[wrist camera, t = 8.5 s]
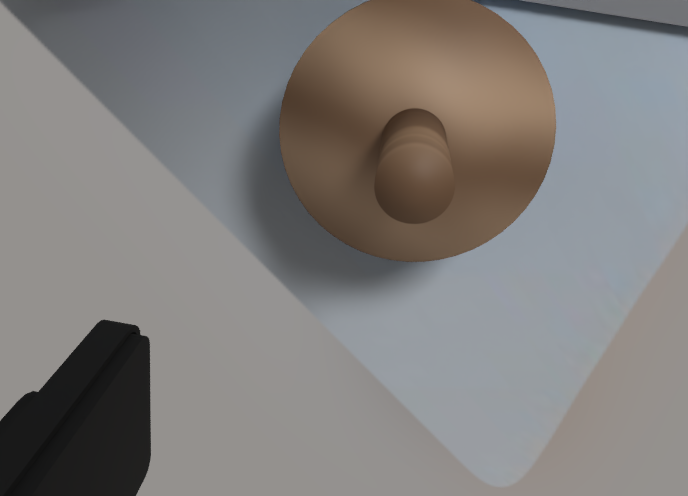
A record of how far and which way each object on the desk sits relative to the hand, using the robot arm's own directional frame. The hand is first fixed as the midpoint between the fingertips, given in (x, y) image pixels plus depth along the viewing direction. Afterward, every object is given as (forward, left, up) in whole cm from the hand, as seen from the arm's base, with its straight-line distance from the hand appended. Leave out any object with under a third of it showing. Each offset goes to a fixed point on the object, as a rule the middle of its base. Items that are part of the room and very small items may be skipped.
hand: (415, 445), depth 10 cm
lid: (0, 0, -19) cm, 19 cm away
